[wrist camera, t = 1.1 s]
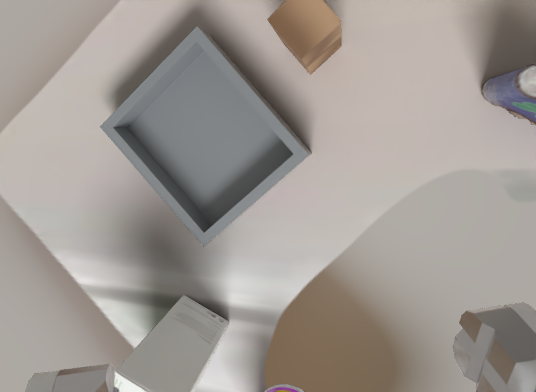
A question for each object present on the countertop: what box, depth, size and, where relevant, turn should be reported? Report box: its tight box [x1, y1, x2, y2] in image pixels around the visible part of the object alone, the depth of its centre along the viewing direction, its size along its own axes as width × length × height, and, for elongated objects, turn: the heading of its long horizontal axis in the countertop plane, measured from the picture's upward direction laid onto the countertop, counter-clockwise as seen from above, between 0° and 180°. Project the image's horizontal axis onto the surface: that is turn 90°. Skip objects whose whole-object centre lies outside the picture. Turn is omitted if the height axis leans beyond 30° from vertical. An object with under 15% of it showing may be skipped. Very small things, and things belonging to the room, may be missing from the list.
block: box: [267, 0, 341, 75], centre depth 38 cm, size 4×4×10 cm
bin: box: [100, 26, 311, 247], centre depth 44 cm, size 14×16×4 cm
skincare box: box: [114, 295, 229, 392], centre depth 42 cm, size 8×7×16 cm
